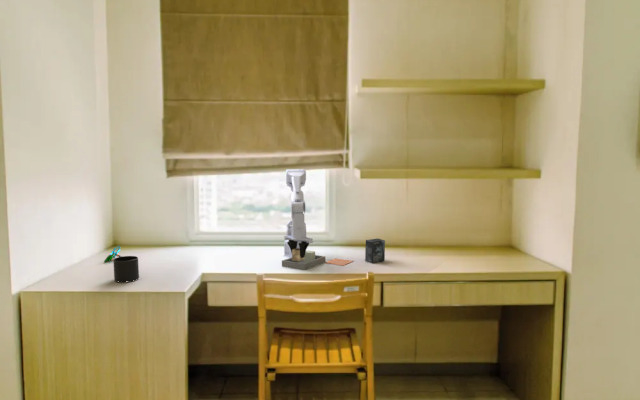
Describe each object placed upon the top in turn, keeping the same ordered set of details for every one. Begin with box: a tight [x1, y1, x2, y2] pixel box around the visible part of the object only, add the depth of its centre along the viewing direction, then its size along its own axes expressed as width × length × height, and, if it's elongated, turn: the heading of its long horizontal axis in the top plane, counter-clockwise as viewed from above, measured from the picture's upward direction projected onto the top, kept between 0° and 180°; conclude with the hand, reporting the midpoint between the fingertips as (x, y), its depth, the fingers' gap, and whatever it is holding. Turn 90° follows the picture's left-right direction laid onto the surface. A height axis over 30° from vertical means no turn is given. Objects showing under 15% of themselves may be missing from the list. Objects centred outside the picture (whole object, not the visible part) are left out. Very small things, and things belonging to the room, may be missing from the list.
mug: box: [112, 255, 140, 283], centre depth 191 cm, size 9×12×9 cm
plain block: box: [304, 250, 316, 263], centre depth 218 cm, size 4×4×5 cm
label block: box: [292, 248, 304, 262], centre depth 210 cm, size 4×4×5 cm
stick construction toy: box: [104, 245, 123, 263], centre depth 224 cm, size 12×7×8 cm
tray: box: [281, 254, 326, 271], centre depth 214 cm, size 13×18×3 cm
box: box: [364, 238, 386, 264], centre depth 220 cm, size 8×6×11 cm
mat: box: [324, 257, 354, 267], centre depth 218 cm, size 10×10×1 cm
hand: (298, 256), depth 210 cm, fingers closed on label block, 4 cm apart
